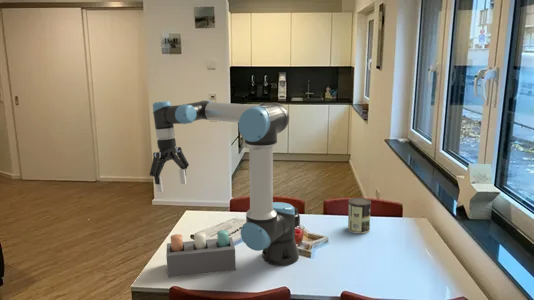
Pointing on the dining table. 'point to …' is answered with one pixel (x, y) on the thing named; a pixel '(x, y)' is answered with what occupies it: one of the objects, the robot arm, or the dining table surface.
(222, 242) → the teal button
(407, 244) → the dining table surface
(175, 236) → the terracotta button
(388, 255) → the dining table surface
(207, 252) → the button console
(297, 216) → the supplement bottle
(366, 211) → the coffee can
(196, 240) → the cream button
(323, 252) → the dining table surface
